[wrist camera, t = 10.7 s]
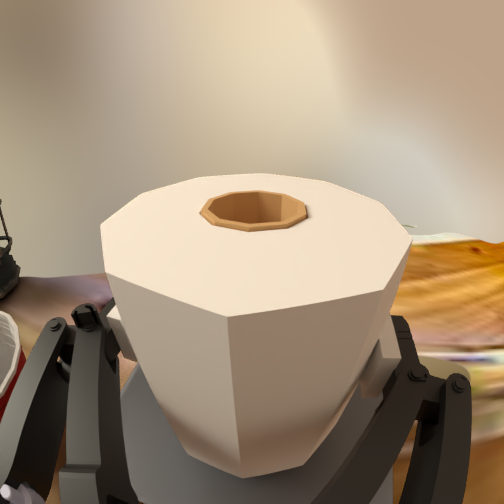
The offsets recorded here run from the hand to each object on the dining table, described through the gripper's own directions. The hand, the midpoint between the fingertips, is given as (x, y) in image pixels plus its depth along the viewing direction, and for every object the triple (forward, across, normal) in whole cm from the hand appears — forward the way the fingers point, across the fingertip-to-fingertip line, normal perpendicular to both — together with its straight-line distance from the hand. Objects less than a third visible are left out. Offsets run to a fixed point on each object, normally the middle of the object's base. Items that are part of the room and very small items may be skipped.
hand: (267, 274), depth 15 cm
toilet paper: (-4, 0, -7) cm, 8 cm away
